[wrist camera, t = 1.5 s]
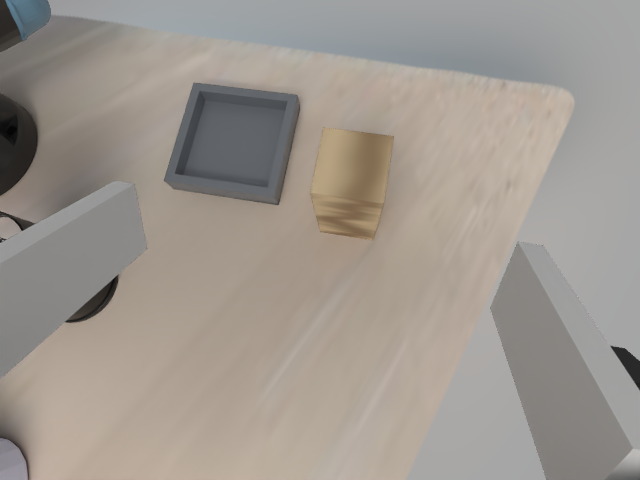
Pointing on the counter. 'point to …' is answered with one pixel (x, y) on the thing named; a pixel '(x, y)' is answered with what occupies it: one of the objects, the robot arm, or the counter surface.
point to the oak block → (350, 181)
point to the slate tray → (234, 143)
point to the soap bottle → (11, 462)
